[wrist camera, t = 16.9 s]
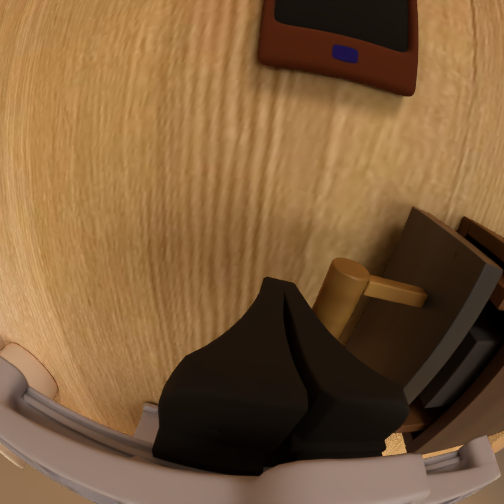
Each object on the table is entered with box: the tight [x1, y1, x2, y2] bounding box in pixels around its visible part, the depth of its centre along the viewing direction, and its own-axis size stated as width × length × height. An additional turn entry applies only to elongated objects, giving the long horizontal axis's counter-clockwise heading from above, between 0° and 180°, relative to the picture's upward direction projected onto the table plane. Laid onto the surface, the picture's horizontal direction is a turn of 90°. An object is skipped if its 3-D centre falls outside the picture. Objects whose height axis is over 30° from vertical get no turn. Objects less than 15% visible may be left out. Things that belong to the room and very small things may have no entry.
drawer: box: [312, 207, 504, 433], centre depth 11 cm, size 17×10×6 cm, turn 76°
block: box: [419, 301, 504, 408], centre depth 11 cm, size 4×4×4 cm
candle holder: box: [0, 343, 58, 470], centre depth 17 cm, size 10×10×12 cm
